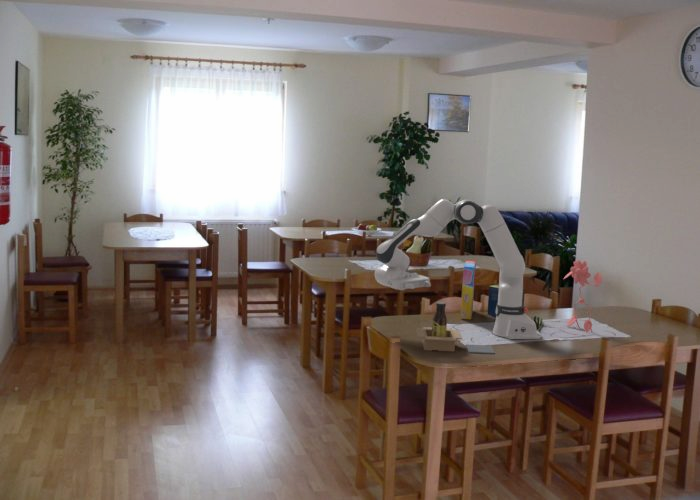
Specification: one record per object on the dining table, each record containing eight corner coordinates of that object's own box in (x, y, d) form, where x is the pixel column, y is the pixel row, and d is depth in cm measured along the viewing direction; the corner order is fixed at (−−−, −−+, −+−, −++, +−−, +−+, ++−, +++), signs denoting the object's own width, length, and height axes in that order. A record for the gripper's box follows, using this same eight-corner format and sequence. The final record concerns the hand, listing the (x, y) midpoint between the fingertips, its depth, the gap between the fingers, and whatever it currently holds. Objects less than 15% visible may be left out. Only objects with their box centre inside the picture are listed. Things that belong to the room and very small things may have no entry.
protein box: (498, 312, 397) (500, 283, 395) (523, 318, 386) (525, 288, 383) (486, 314, 390) (488, 285, 388) (511, 320, 379) (513, 291, 376)
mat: (490, 346, 329) (490, 345, 329) (494, 354, 319) (494, 352, 318) (465, 345, 330) (465, 344, 330) (468, 352, 319) (468, 351, 319)
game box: (471, 320, 377) (474, 267, 373) (460, 319, 378) (463, 266, 374) (472, 311, 397) (476, 260, 393) (462, 310, 398) (465, 260, 394)
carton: (457, 341, 336) (458, 328, 335) (462, 353, 317) (463, 340, 316) (415, 339, 336) (416, 326, 335) (417, 351, 318) (418, 338, 317)
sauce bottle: (429, 344, 330) (432, 300, 327) (443, 344, 330) (446, 300, 327) (432, 348, 323) (435, 303, 320) (446, 348, 324) (449, 304, 321)
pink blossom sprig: (568, 322, 379) (572, 254, 373) (605, 335, 356) (611, 263, 350) (544, 325, 372) (548, 256, 367) (581, 339, 350) (586, 266, 344)
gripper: (384, 275, 336) (405, 281, 325) (417, 272, 349) (438, 277, 338) (383, 289, 337) (404, 295, 326) (416, 285, 350) (437, 290, 339)
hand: (421, 286), depth 332 cm, fingers open, 8 cm apart
